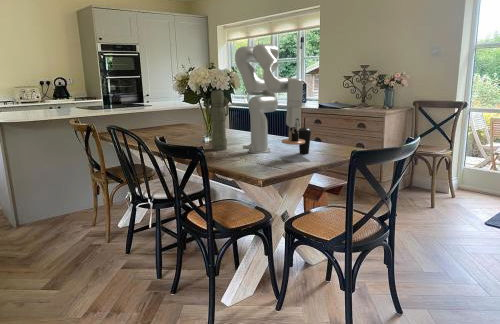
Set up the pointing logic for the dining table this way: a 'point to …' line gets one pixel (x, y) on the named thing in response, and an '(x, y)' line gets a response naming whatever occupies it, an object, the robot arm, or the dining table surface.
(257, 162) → the dining table surface
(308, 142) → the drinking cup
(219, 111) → the thermos
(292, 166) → the dining table surface
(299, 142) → the lid
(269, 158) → the dining table surface
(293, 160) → the mat
